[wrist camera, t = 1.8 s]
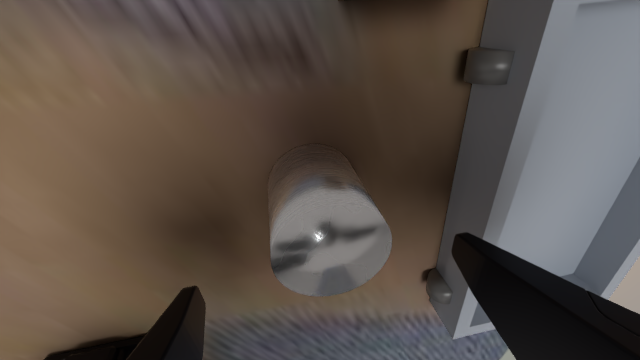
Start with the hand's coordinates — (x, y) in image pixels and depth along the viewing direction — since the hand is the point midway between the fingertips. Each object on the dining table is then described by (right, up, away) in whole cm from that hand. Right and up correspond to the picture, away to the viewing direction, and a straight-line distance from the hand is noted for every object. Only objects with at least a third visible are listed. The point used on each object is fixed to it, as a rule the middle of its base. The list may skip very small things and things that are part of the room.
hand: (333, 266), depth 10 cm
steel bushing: (-1, +3, +5) cm, 6 cm away
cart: (+13, +3, +7) cm, 15 cm away
